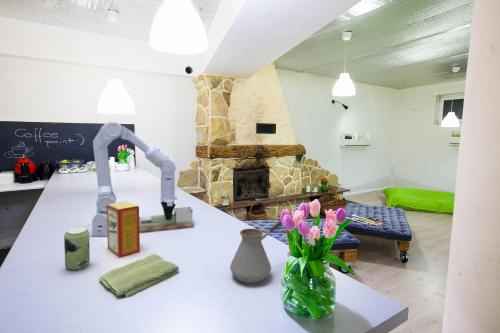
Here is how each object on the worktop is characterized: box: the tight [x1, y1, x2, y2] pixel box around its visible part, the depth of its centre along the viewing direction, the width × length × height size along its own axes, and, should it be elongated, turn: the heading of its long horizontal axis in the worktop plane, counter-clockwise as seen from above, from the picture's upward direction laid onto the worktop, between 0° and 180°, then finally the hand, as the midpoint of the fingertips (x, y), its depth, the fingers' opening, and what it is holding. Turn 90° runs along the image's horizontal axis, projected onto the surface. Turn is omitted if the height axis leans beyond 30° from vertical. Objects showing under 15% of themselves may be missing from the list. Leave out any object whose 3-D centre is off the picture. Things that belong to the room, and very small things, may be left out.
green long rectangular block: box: [150, 213, 176, 225], centre depth 116 cm, size 13×3×4 cm, turn 113°
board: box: [139, 222, 195, 234], centre depth 116 cm, size 22×12×1 cm, turn 113°
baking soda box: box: [107, 200, 141, 259], centre depth 89 cm, size 10×6×16 cm
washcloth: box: [98, 253, 180, 298], centre depth 73 cm, size 13×18×3 cm
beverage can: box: [63, 225, 91, 271], centre depth 77 cm, size 6×7×12 cm
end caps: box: [139, 206, 194, 228], centre depth 116 cm, size 22×6×6 cm, turn 113°
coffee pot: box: [229, 220, 283, 285], centre depth 77 cm, size 21×12×15 cm, turn 130°
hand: (168, 218), depth 116 cm, fingers closed on green long rectangular block, 3 cm apart
